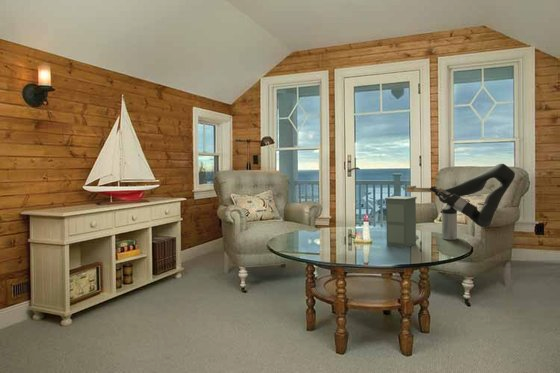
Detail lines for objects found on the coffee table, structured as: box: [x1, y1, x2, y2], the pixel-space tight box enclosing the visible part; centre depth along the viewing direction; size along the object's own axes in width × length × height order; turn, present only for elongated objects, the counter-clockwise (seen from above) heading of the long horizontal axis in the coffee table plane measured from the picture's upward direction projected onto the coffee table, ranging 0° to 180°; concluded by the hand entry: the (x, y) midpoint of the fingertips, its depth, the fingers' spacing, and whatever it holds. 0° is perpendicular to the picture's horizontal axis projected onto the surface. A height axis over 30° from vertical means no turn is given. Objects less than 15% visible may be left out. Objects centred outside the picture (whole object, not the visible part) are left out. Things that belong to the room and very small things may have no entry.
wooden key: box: [406, 185, 443, 193], centre depth 249 cm, size 5×20×4 cm, turn 48°
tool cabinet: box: [384, 195, 417, 249], centre depth 261 cm, size 15×14×30 cm
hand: (432, 187), depth 246 cm, fingers closed on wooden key, 3 cm apart
